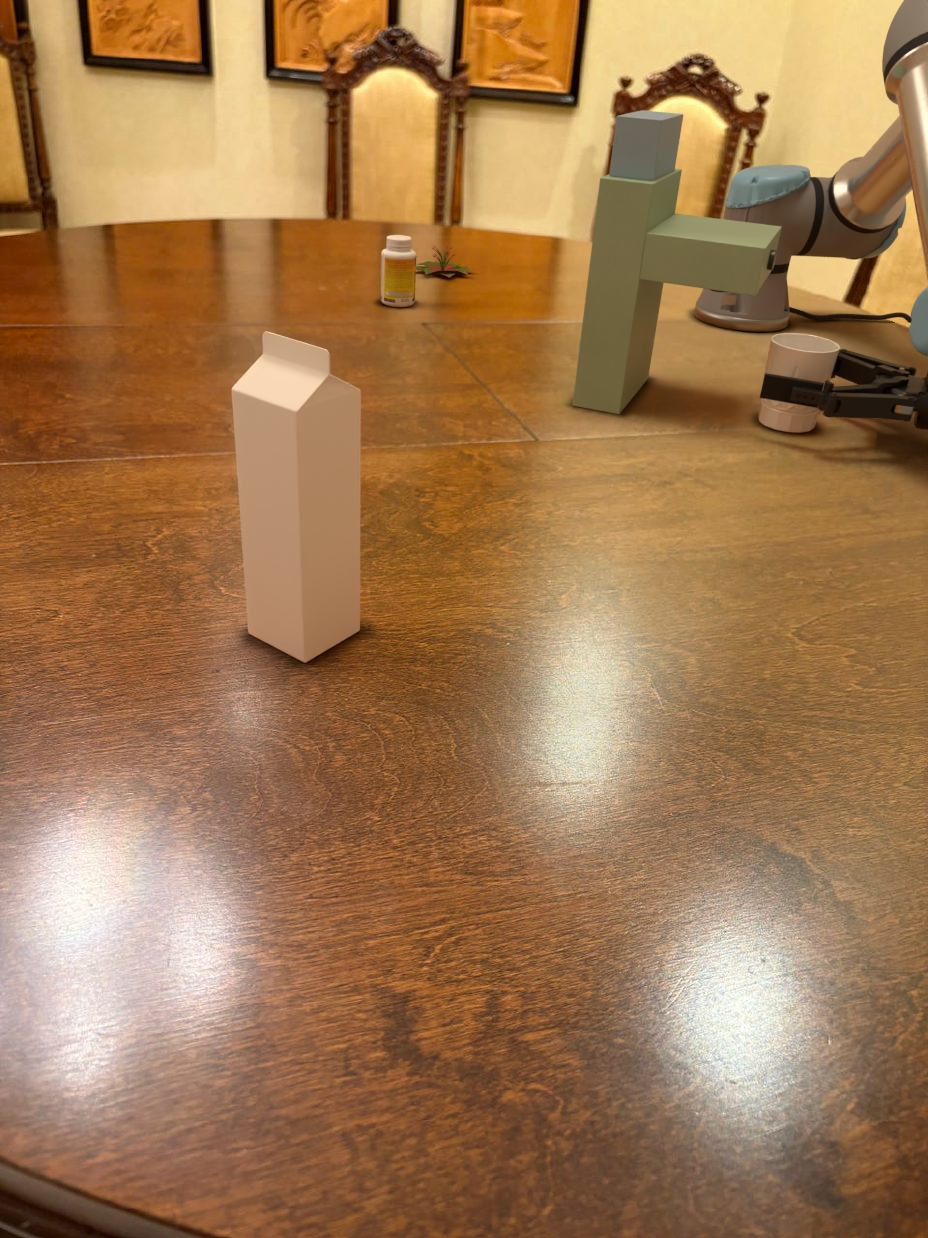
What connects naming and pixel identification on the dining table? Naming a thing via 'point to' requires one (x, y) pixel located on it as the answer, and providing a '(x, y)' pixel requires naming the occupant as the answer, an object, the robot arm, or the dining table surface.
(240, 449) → the milk
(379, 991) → the dining table surface
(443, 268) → the green leafy plant
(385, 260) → the supplement bottle
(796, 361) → the beige cup
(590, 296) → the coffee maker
